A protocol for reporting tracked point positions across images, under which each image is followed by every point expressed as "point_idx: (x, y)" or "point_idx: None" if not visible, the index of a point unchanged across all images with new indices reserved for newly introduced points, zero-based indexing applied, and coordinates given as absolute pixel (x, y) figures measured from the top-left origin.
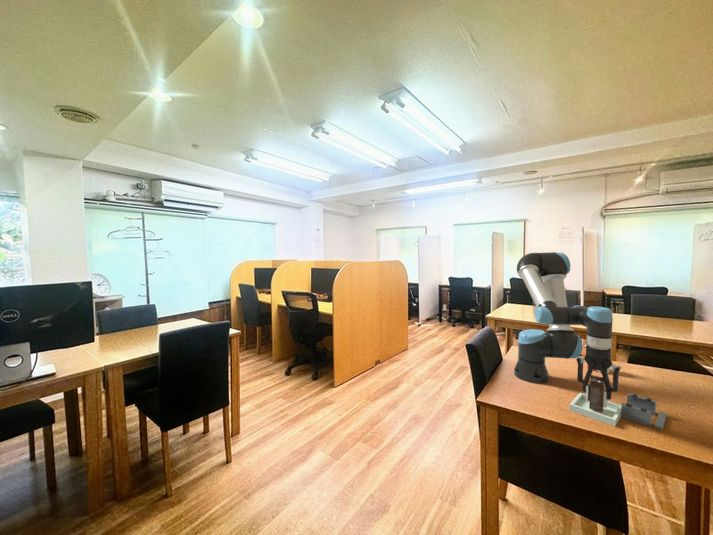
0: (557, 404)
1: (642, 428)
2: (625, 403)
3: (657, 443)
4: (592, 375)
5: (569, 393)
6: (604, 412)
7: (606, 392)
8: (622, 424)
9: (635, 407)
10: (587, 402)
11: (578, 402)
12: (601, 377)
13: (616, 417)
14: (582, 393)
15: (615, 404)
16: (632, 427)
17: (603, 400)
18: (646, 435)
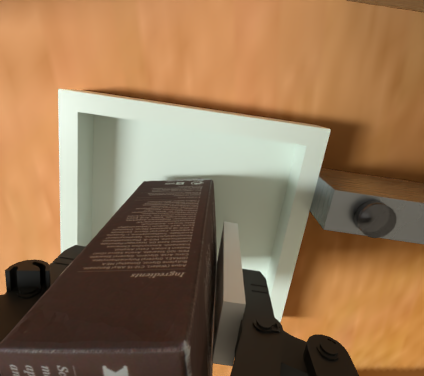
0: (18, 261)
1: (379, 255)
2: (352, 194)
3: (409, 345)
4: (15, 367)
5: (10, 52)
6: (223, 220)
7: (233, 350)
8: (298, 273)
9: (409, 220)
10: (131, 148)
11: (91, 193)
12: (152, 371)
13: (279, 314)
14: (75, 95)
15: (282, 139)
16: (337, 274)
17: (215, 296)
18: (382, 308)
